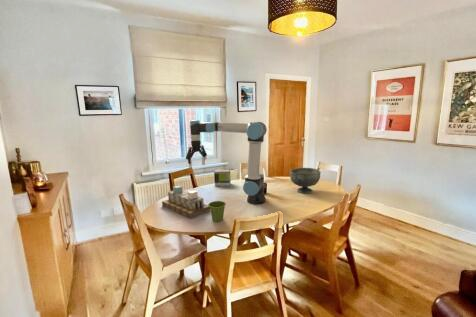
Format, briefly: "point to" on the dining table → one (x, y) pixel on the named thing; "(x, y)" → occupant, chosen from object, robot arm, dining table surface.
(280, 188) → the dining table surface
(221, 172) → the tea box
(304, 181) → the decorative bowl
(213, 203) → the plant pot
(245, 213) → the dining table surface
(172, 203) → the grey flat block
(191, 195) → the cargo crate
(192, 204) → the grey lumpy bar
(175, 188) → the cargo crate
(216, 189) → the dining table surface
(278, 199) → the dining table surface
